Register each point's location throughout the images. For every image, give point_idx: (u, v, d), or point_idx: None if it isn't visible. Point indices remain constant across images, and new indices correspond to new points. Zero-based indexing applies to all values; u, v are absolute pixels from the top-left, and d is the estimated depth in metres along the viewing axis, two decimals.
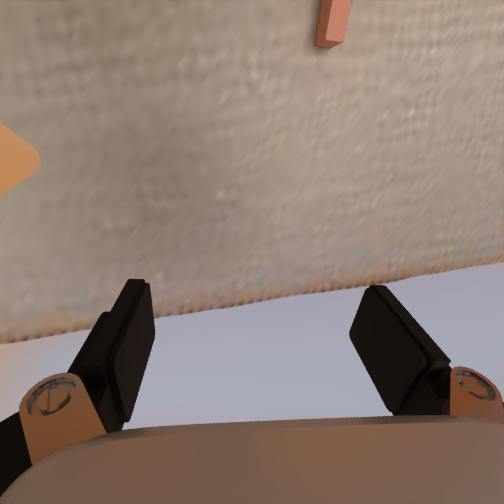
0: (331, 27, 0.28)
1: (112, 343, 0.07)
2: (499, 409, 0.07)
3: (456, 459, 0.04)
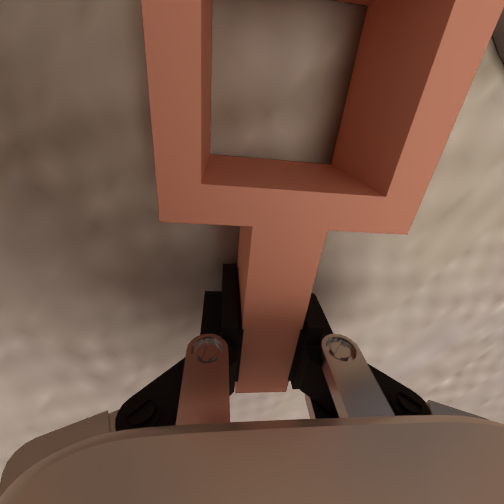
0: (249, 374, 0.10)
1: (237, 312, 0.09)
2: (363, 361, 0.08)
3: (456, 459, 0.04)
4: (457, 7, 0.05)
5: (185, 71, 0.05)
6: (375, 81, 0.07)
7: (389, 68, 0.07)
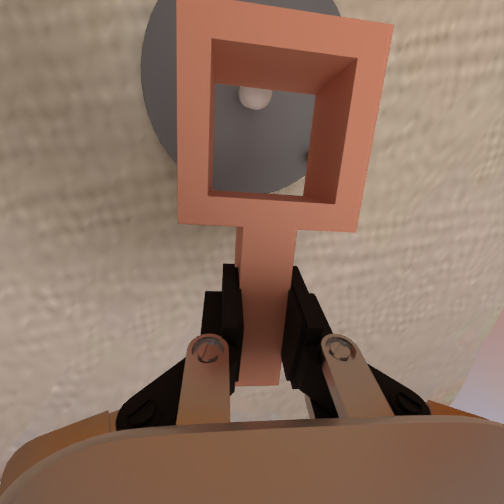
0: (245, 365, 0.11)
1: (237, 311, 0.09)
2: (362, 361, 0.08)
3: (456, 459, 0.04)
4: (354, 92, 0.09)
5: (199, 127, 0.08)
6: (323, 136, 0.11)
7: (329, 127, 0.10)
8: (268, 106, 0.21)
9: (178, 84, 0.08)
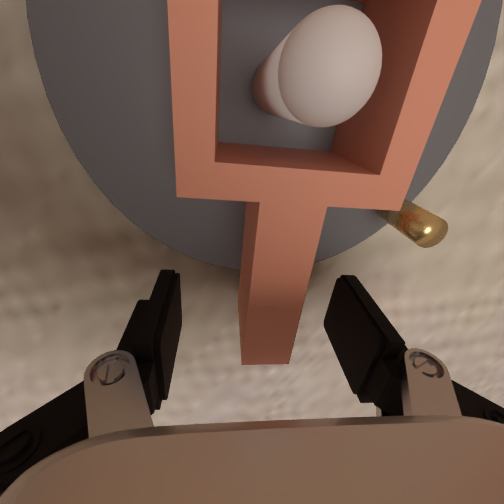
0: (255, 346, 0.10)
1: (157, 325, 0.08)
2: (448, 384, 0.07)
3: (456, 459, 0.04)
4: (440, 3, 0.06)
5: (203, 60, 0.06)
6: None
7: (382, 59, 0.07)
8: None
9: None
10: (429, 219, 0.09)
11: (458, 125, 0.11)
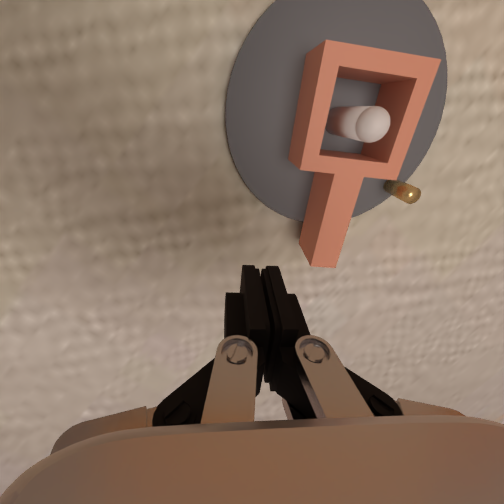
0: (319, 254, 0.20)
1: (262, 313, 0.09)
2: (337, 361, 0.08)
3: (456, 459, 0.04)
4: (411, 98, 0.15)
5: (322, 116, 0.15)
6: None
7: (389, 113, 0.17)
8: None
9: (316, 91, 0.15)
10: (411, 188, 0.19)
11: (428, 141, 0.20)
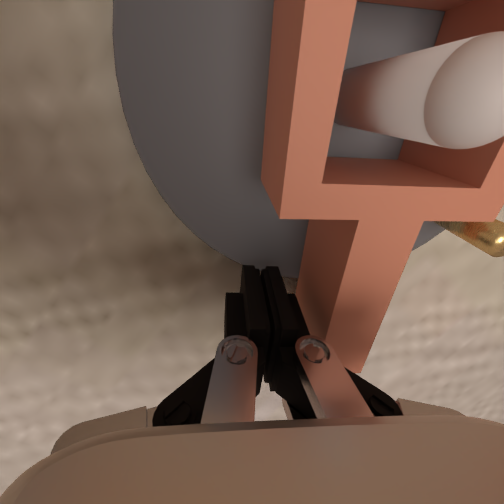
0: None
1: (262, 313, 0.09)
2: (337, 361, 0.08)
3: (456, 459, 0.04)
4: None
5: (327, 85, 0.06)
6: None
7: None
8: None
9: (306, 12, 0.05)
10: None
11: None
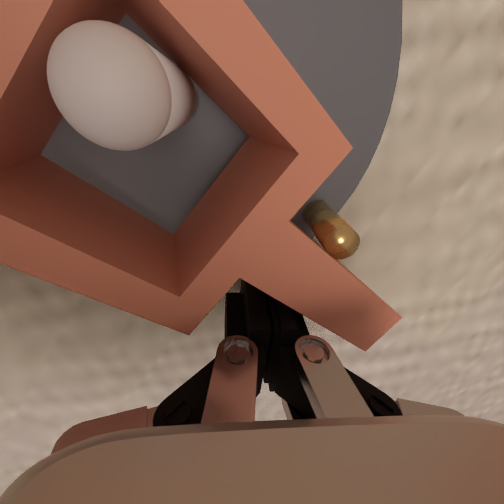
0: (360, 335, 0.10)
1: (263, 313, 0.09)
2: (336, 361, 0.08)
3: (456, 459, 0.04)
4: None
5: (90, 268, 0.06)
6: (195, 70, 0.07)
7: (188, 57, 0.06)
8: (218, 120, 0.10)
9: (14, 267, 0.05)
10: (337, 230, 0.09)
11: (377, 127, 0.10)
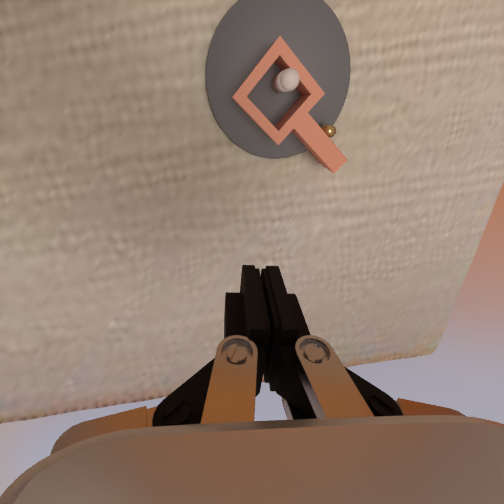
0: (331, 163, 0.30)
1: (263, 313, 0.09)
2: (337, 361, 0.08)
3: (456, 459, 0.04)
4: (287, 62, 0.25)
5: (262, 117, 0.27)
6: None
7: None
8: (292, 91, 0.30)
9: (249, 114, 0.27)
10: (328, 126, 0.29)
11: (343, 96, 0.30)
